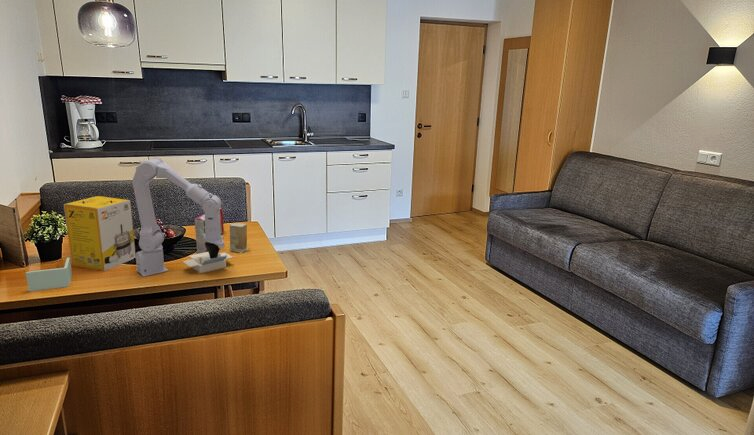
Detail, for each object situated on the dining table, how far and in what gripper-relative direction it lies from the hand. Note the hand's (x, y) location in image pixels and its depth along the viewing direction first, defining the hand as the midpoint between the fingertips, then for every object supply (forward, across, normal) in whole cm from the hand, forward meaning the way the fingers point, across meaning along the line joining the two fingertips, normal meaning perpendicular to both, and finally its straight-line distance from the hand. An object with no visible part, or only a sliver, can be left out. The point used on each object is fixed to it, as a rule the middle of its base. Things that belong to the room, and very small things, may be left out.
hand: (214, 260), depth 192 cm
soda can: (+6, +45, -22) cm, 51 cm away
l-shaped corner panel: (+6, +25, +50) cm, 57 cm away
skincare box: (+5, +16, -19) cm, 26 cm away
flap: (0, 0, 0) cm, 0 cm away
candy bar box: (+5, +23, -8) cm, 25 cm away
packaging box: (+6, +37, +30) cm, 48 cm away
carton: (+5, +7, 0) cm, 9 cm away
